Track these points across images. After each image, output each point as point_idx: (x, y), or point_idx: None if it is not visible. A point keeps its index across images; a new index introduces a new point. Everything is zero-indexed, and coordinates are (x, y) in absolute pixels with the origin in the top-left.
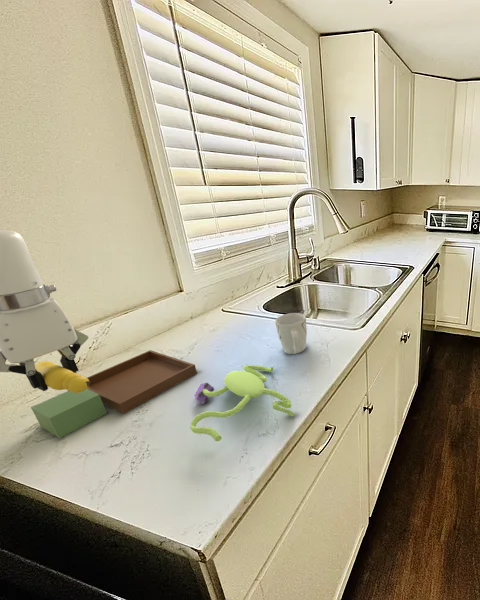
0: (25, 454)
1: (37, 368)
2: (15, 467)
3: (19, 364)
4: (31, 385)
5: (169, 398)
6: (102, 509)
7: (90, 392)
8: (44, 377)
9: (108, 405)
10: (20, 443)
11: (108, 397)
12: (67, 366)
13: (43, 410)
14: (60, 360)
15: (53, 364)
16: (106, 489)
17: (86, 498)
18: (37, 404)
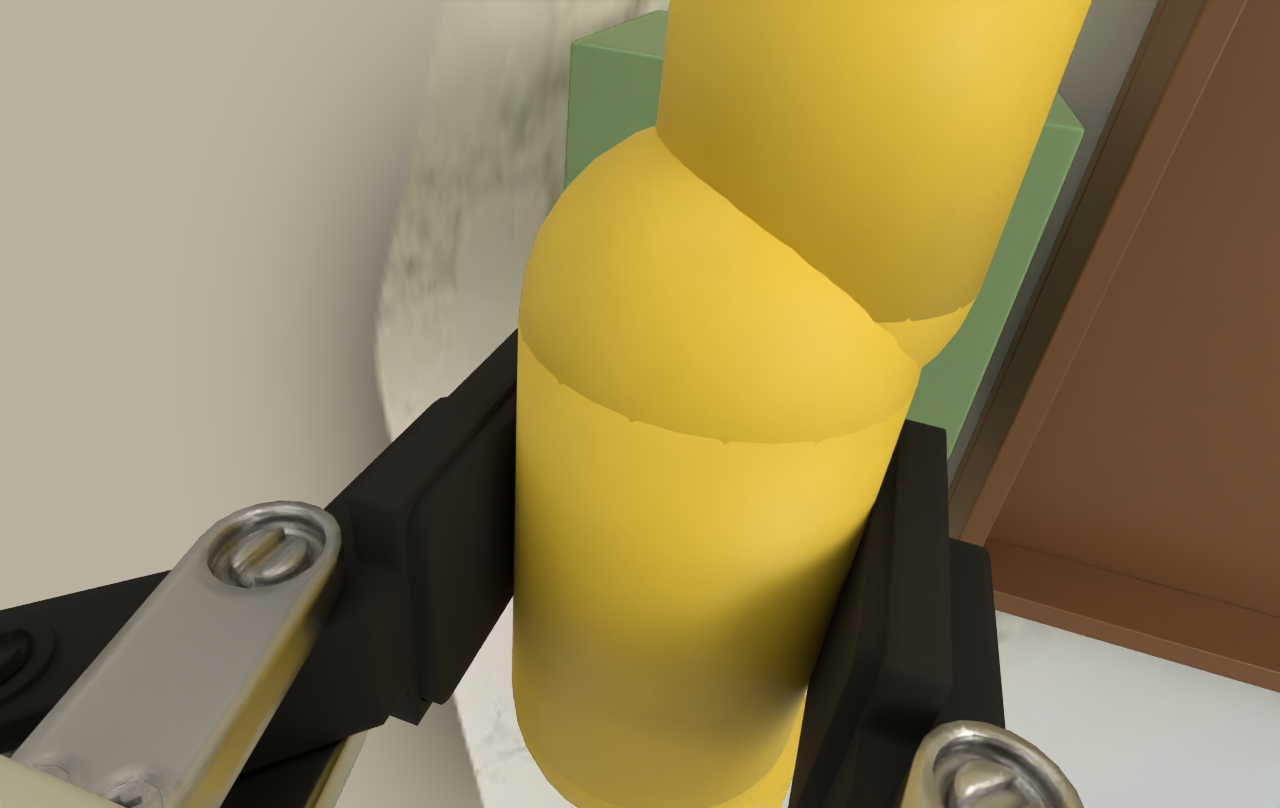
0: (468, 269)
1: (575, 296)
2: (407, 328)
3: (104, 675)
4: (439, 401)
5: (1157, 699)
6: (480, 783)
7: (939, 426)
8: (515, 603)
9: (1010, 354)
10: (495, 98)
11: (1018, 438)
12: (805, 734)
13: None
14: (846, 678)
15: (770, 515)
16: (525, 757)
17: (478, 725)
18: (626, 54)
